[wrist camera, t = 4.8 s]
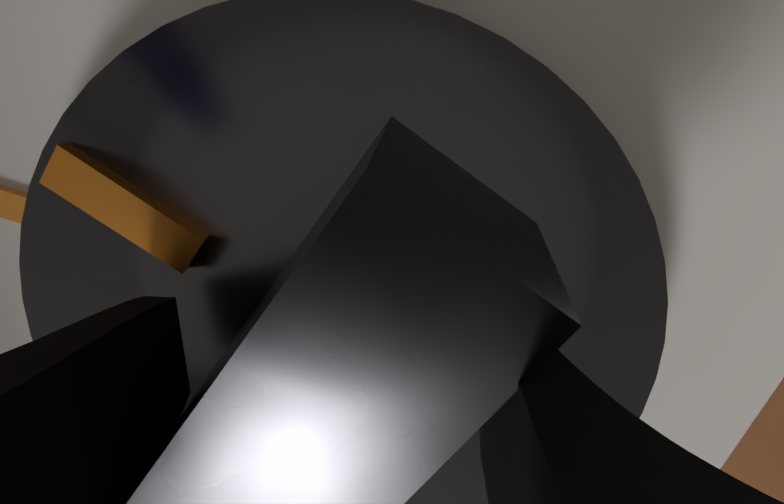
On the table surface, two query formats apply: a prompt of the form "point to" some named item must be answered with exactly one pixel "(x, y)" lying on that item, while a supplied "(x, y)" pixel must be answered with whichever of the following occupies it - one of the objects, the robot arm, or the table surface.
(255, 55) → the dial
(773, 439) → the table surface
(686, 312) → the dial panel
